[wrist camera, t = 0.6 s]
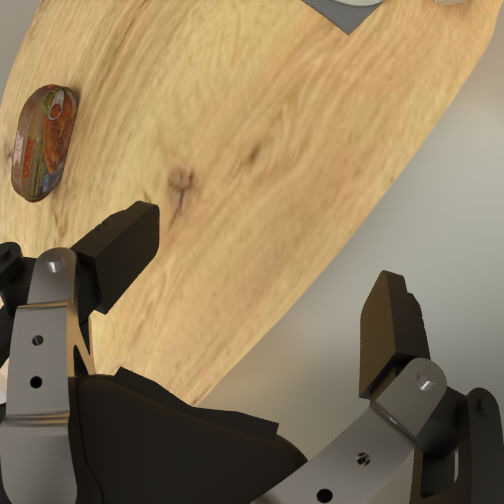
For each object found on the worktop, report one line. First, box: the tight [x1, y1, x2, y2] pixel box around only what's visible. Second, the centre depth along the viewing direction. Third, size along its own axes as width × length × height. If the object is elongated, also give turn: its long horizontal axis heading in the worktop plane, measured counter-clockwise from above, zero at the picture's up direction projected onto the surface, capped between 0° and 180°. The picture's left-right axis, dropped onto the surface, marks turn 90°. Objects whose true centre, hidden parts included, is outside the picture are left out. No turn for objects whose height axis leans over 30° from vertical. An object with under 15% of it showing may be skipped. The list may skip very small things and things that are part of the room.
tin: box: [11, 84, 77, 203], centre depth 30 cm, size 15×3×8 cm, turn 155°
